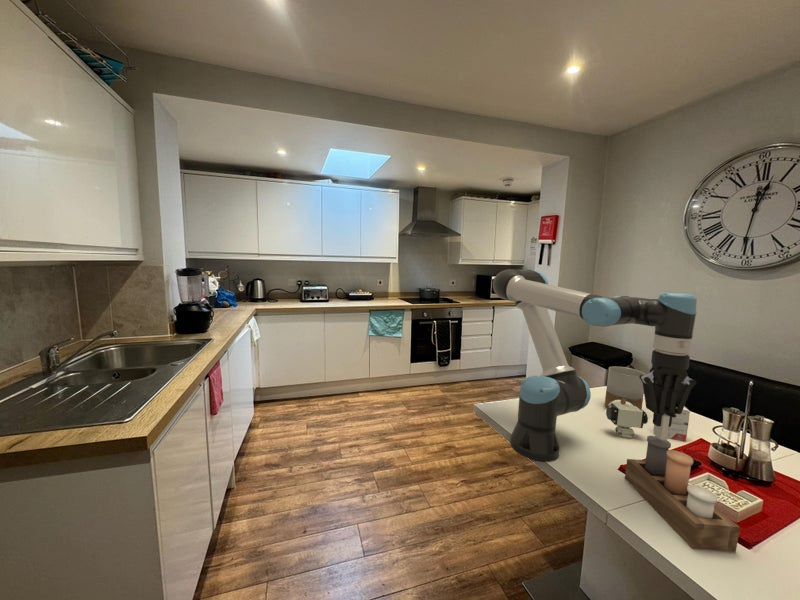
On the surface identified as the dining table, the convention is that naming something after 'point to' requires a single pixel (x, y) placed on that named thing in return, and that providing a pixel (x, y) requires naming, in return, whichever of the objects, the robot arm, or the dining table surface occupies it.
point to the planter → (624, 386)
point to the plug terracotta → (677, 472)
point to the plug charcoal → (656, 456)
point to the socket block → (683, 512)
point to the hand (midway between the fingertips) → (660, 437)
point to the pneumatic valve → (626, 418)
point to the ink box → (679, 426)
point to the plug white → (701, 501)
